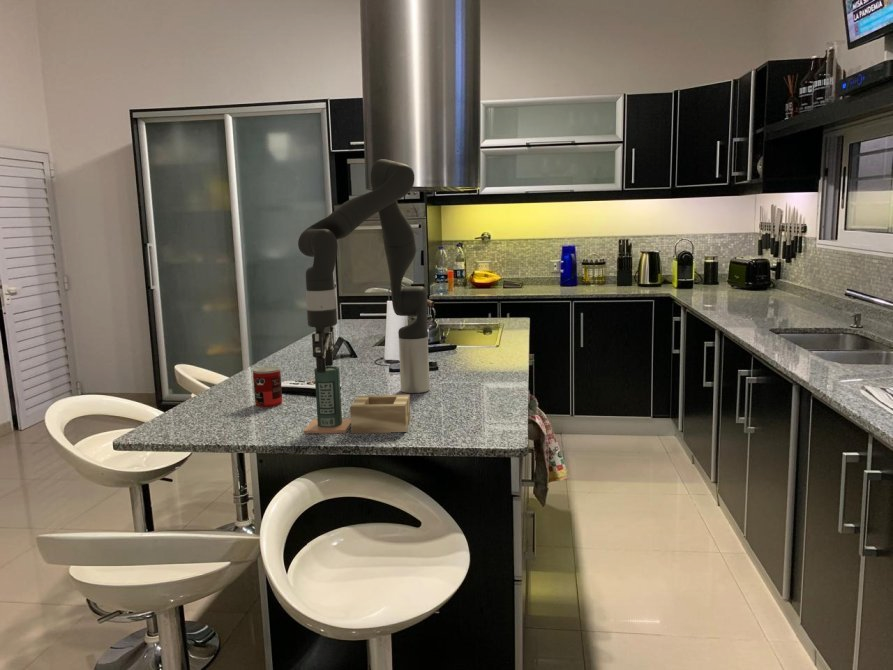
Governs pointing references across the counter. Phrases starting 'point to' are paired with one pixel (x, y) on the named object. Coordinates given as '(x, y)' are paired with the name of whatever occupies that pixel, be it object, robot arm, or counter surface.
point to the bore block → (380, 414)
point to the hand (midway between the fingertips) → (325, 369)
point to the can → (328, 397)
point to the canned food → (267, 386)
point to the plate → (315, 428)
